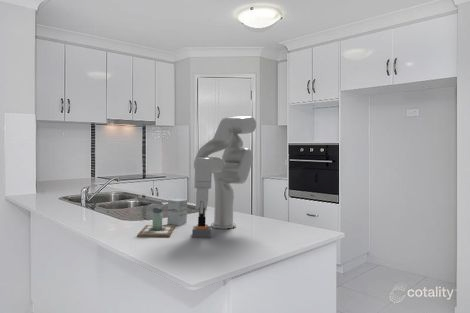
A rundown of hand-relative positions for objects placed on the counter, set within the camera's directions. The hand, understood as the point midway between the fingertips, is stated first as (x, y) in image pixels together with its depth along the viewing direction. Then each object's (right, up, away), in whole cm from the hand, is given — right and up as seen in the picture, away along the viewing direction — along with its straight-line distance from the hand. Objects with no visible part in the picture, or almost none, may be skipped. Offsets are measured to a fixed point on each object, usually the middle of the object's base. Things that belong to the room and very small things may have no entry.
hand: (201, 225), depth 163 cm
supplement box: (-15, -4, +25) cm, 29 cm away
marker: (-21, -3, +5) cm, 22 cm away
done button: (0, -3, 0) cm, 3 cm away
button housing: (0, -5, 0) cm, 5 cm away
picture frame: (-21, -4, +5) cm, 22 cm away
